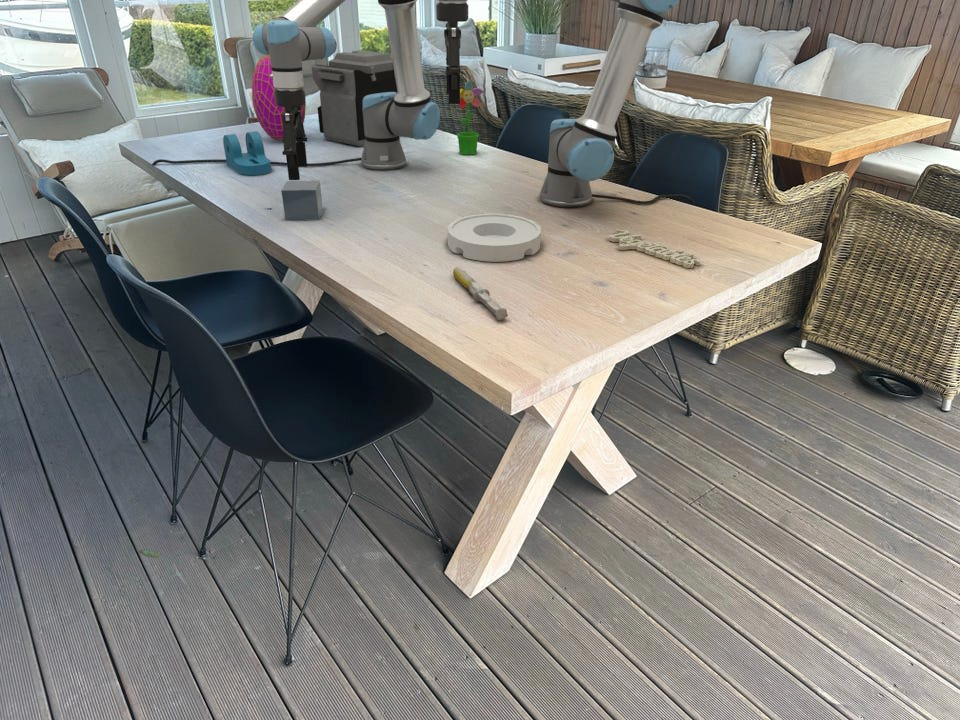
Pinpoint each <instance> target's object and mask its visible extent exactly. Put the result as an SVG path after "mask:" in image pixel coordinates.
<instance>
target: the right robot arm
mask: <svg viewBox="0 0 960 720" xmlns="http://www.w3.org/2000/svg"><path fill="white" fill-rule="evenodd" d="M611 1H612V2H615V3H617V8H616V11H617V14H618V16H619V20H618V23H617V25H616V28H615V29H614V30H615V31H614V32H613V33H614V34H613V36H612V38H611V41H610V44H609V46H608V50H607V52H606V55H605V57H604V60H603V63H602V65H601V69H600V71H599V73H598V75H597V79H596V81H595V84H594V86H593V88H592V89H593V90H592V92H591V95H590V97H589V100H588V103H587V105H586V108H585V111H584V114H583V115H582V116H580V117H577V118H558V119H554V120H552V122H551V123H550V127H549V128H550V129H549V132H548V134H549V141H548V142H549V144H548V159H547V173H546V176H545V178H544V181H543V184H542V187H541V189H540V192H539V200H540V202H542V203H543V204H546V205H549V206H553V207H558V208H559V207H560V208H580V207H584V206H588V205H589V204H591V203H592V199H593V198H598V199H599V198H600V199H607V200H614V201H615V200H616V201H622V202H627V203H632V204H637V205H649V204H653V203H655V202H656V201H657V200H660V199H668V198H683V199H685V200H687V201H689V202H690V203H691V204H696V202H695V201H694V199H693V198H692V197H690V196H689V195H686V194H681V193H675V194H674V193H673V194H661V195H657V196H655V197H654V198H652V199H650V200H637V199H631V198H627V197H620V196H614V195H604V194H595V193H592V188H591V184H590V182H595V181H598V180H599V179H601V178H604V177H605V176H606V175H607V174H608V173H609V172H610V170H611V169H612V166H613V165H614V161H615V152H614V149H613V146H614V144H615V142H616V139H617V137H618V133H617V131H616V124H617V120H618V119H619V115H620V113H621V112H622V111H621V110H622V108H623V107H624V103H625V101H626V98H627V96H628V93H629V90H630V88H631V85H632V83H633V81H634V78H635V75H636V73H637V70H638V67H639V65H640V63H641V60H642V58H643V56H644V53H645V50H646V48H647V45H648V43H649V40H650V37H651V35H652V33H653V31H654V30H655V29H658V28H659V27H661V26H662V24H663V22H664V19H665V17H666V15H667V12H668V11H670V10H672V9H673V8H674V7H675V6H676V5H677V4H678V3H679V1H680V0H611ZM467 2H468V0H438V2H437V3H436V4H435V13H436V14H435V16H436V20H437V21H438V22H446V23H445V28H444V29H443V37H444V46H445V49H446V50H445V56H446V58H445V65H446V68H445V69H446V70H445V76H446V95H447V96H448V105H459V104H460V99H461V97H460V89H461V60H460V59H461V58H460V50H461V46H462V45H461V39H462V30H461V28H460V26H459V22H460V23H462V22H467V21H468V20H469V4H468V3H467Z"/></svg>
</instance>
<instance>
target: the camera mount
mask: <svg viewBox="0 0 960 720" xmlns="http://www.w3.org/2000/svg"><path fill="white" fill-rule="evenodd" d="M222 140H223V141H222V143H223V149H224V150H223V151H224V156H225V159H226V162H225V163H226V165H227V166H228V167H230V168H231V169H232V170H234V171H236V172H237V173H238V174H239V175H244V176H260V175H265V174H268V173H271V172H272V164H271V163H270V162H271V159H270V158H268V157H267V156H266V153H265V145H264V141H263V139H262V136H261V134H260V132H258V131H247V132H246V133H245V146H246V152H243V151H242V150H243V149H242V146H241V142H240V140H239V138H238V135H236V134H235V133H231V134H224V135H223V138H222Z"/></svg>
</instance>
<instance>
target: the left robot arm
mask: <svg viewBox="0 0 960 720" xmlns="http://www.w3.org/2000/svg"><path fill="white" fill-rule="evenodd" d="M345 1H346V0H297V1H296V2H295V3H294V4H292V5H291V6H290V7H288V9H286V10H285V11H284V12H283V13H282V14H281V15H280V16H279V17H277V18H276V19H274V20H273V19H272V20H269V21H268V22H267V23H260V24H257V25H256V26H255V27H254V29H253V31H252V37H251V38H252V43H253V46H254V48H255V49H256V51H257V52H258V53H260V54H262V55H265V56H268V55H270V62H271V69H272V74H270V78H273V86H274V87H275V88H276V89H275V91H274V96H275V103H276V105H277V106H280V107H282V106H283V107H284V108H285V113H282V118H283V140H284V141H283V150H282V152H281V153H282V155H283V156H285V158H286V162H284V161H282V162H281V161H270V163H271V165H276V166H286V167H287V174H288V175H287V176H288V181H301V176H300V168H308V167H321V166H322V167H323V166H324V167H325V166H332V165H339V164H345V163H353V162H360V164H361V167H363V168H365V169H368V170H372V171H389V170H391V171H392V170H396V169H397V170H398V169H401V168H403V167H405V166H407V157H406V154H405V152H404V149H403V146H402V143H401V138H408V139H415V140H417V141H418V140H423V141H424V140H430V139H431V138H432V137H433V136H434V135H435V134H436V132H437V130H438V128H439V125H440V121H441V110H440V106H439V105H438V104H437V103H436V102H434V101H432V99H431V97H432V96H431V93H430V91H429V90H427V89H426V87H425V81H424V73H423V66H422V59H421V51H420V42H419V36H418V27H417V20H416V12H415V4H416V3H417V2H418V0H377V3H378V5H379V6H380V7H382V8H383V9H384V15H385V20H386V27H387V35H388V39H389V40H388V41H389V47H390V52H391V57H392V60H393V66H394V73H395V79H396V86H397V93H396V92H385V93H377V94H371V95H367V96H365V97H364V98H363V109H362V111H363V121H364V132H365V145H364V146H363V150H362V154H361V157H356V158H355V157H354V158H348V159H341V160H336V161H327V162H314V163H312V162H311V163H310V162H309V163H308V159H307V158H308V157H307V150H306V149H307V148H306V142H308V140H309V139H308V137H307V136H306V130H305V126H304V123H303V120H302V115H301V106H303V105H305V103H306V104H307V101H306V100H305V98H306V91H305V89H304V90H303V89H302V88H303V87H305V79H304V70H303V62H306V61H315V60H323V59H327V58H330V57H331V56H333V54H334V53H335V50H336V39H335V36H334V34H333V33H332V31H331V30H330V29H328V28H327V27H325V26H318V25H319V24H320V23H322V22H323V21H324V20H325V19H326V18H328V17H329V16H330V15H331V14H332V13H333V12H334V11H335V10H336V9H338V8H339V7H340V6H341V5H342V4H343V3H344V2H345ZM159 163H167V164H172V165H173V164H174V165H176V164H177V165H179V164H181V165H182V164H196V163H197V164H199V163H200V164H201V163H227V162H226V158H225V159H224V158H223V159H222V158H221V159H219V158H218V159H215V158H214V159H189V160H169V159H162V158H161V159H160V158H159V159H156V160H154V161H153V162H152V164H151V166H156V165H157V164H159Z"/></svg>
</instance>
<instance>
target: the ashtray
mask: <svg viewBox="0 0 960 720" xmlns="http://www.w3.org/2000/svg"><path fill="white" fill-rule="evenodd" d="M541 243H542V227H541V226H540V225H539V224H538V223H537V222H535V221H534V220H531V219H529V218H526V217H523V216H520V215H514V214H508V213H478V214H471V215H466V216H462V217H459V218H457V219H454V220H453V221H451V222H450V223H449V225H448V226H447V247H448V249H449V250H450V251H451V252H452V253H454V254H462V256H463V258H465V259H468V260H474V261H479V262H491V263H499V262H500V263H501V262H503V263H504V262H514V261H519V260H522V259H523V260H524V258H525V256H533V255H535V254H536V253H537V252H539V251H540V248H541Z"/></svg>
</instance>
